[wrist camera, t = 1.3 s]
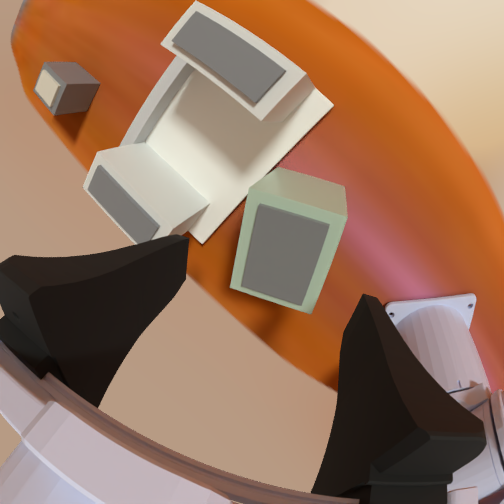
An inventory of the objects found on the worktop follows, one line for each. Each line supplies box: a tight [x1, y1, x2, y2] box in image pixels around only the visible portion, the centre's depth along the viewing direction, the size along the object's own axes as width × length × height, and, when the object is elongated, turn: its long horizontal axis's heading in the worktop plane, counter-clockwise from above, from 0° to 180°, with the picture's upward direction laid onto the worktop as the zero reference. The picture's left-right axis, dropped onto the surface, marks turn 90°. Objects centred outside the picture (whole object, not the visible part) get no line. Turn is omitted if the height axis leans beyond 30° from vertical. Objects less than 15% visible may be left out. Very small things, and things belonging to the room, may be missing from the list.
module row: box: [83, 1, 334, 245], centre depth 15 cm, size 10×14×6 cm
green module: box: [230, 167, 348, 314], centre depth 16 cm, size 4×6×7 cm
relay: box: [33, 62, 101, 115], centre depth 17 cm, size 5×3×4 cm, turn 50°
